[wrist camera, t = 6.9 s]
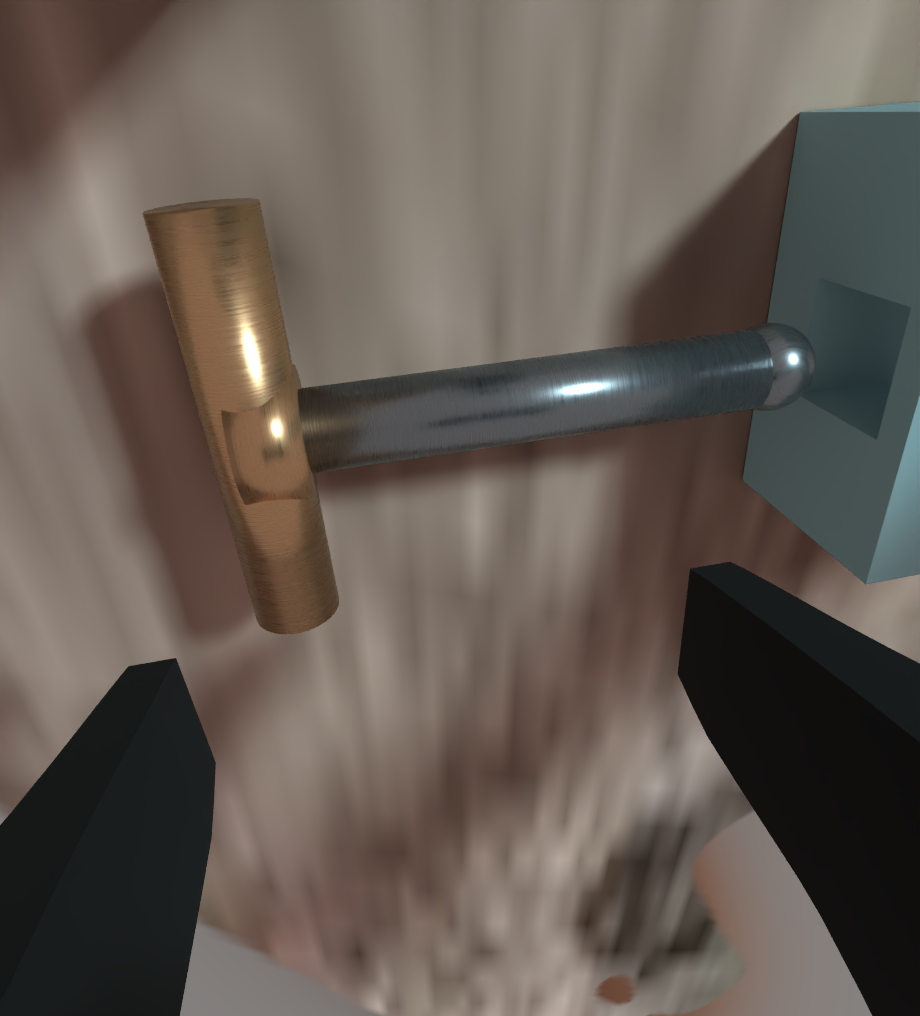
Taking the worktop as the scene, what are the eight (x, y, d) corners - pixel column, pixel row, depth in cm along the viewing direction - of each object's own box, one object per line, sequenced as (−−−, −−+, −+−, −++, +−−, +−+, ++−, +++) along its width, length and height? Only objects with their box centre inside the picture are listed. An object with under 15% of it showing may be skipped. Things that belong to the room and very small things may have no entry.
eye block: (949, 98, 17) (1199, 92, 12) (858, 461, 22) (1010, 557, 17) (799, 112, 16) (1000, 111, 12) (742, 480, 22) (865, 584, 17)
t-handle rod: (805, 142, 15) (900, 147, 13) (747, 500, 20) (808, 553, 17) (158, 202, 13) (125, 222, 11) (259, 580, 18) (252, 652, 15)
